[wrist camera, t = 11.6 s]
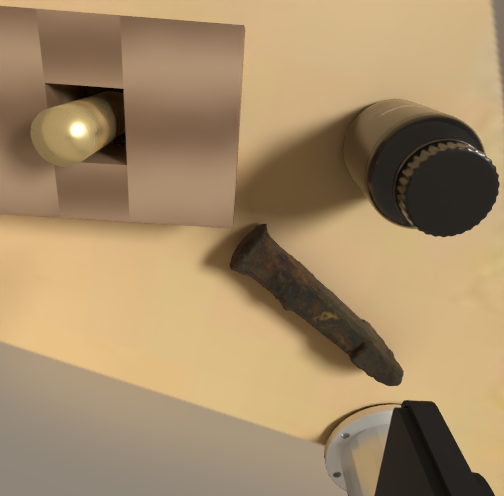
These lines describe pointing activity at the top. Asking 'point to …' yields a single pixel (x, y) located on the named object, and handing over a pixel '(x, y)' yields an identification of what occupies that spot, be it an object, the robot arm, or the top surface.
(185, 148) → the hole block
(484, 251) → the top surface
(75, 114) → the peg
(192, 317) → the top surface
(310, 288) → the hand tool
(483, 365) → the top surface
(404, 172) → the supplement bottle
